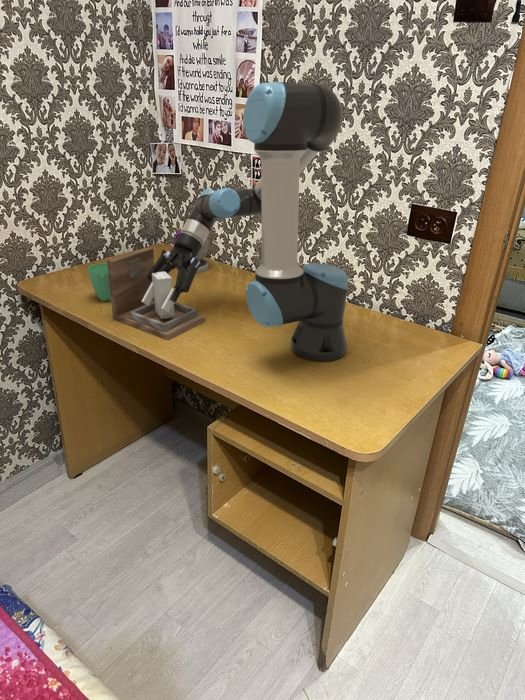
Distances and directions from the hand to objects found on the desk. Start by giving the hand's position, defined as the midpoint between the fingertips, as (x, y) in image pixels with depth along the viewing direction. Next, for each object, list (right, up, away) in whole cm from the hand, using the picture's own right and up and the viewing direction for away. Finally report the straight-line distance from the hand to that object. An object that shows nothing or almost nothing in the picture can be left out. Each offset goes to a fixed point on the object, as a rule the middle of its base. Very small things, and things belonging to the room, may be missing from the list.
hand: (154, 306), depth 151 cm
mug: (-17, +5, +21) cm, 28 cm away
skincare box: (+2, -2, +4) cm, 5 cm away
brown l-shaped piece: (0, -3, +6) cm, 7 cm away
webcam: (+4, +19, +49) cm, 53 cm away
